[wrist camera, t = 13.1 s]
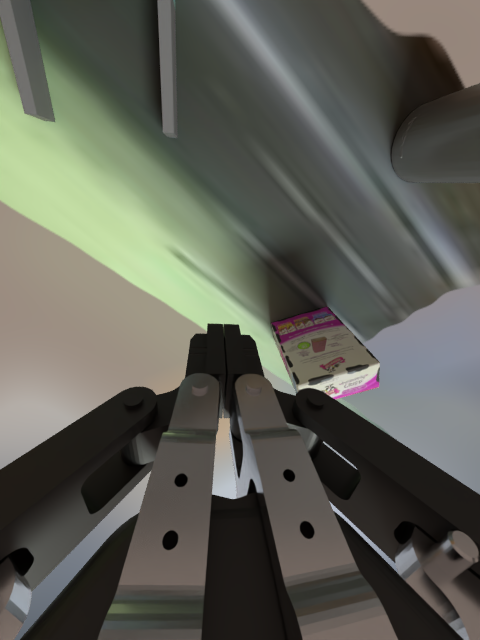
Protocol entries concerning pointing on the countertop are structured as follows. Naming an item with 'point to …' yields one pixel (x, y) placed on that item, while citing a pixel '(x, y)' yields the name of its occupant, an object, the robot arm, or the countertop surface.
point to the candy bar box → (325, 354)
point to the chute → (30, 74)
